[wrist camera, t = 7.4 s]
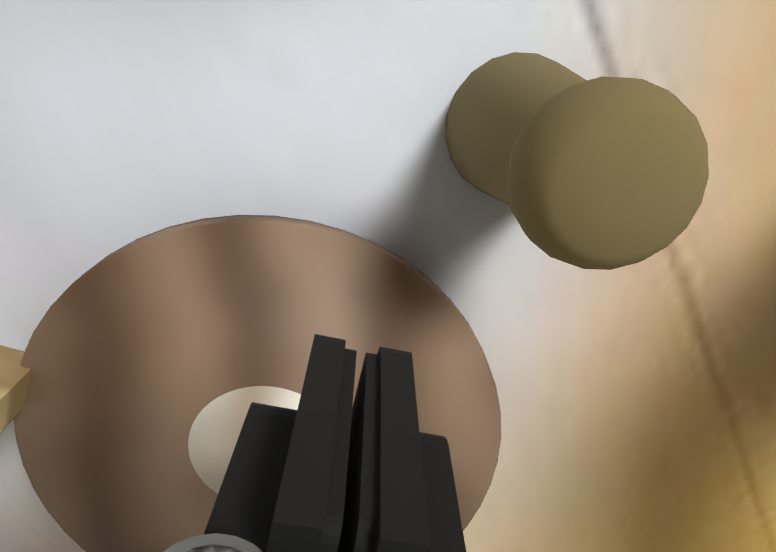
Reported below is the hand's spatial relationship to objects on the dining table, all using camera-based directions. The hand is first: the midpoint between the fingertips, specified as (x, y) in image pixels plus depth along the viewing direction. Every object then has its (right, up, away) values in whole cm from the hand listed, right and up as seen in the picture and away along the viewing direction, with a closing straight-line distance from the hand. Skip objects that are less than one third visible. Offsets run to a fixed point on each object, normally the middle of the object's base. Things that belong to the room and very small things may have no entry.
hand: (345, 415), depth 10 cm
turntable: (-6, -5, +17) cm, 19 cm away
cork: (+6, +9, +15) cm, 18 cm away
